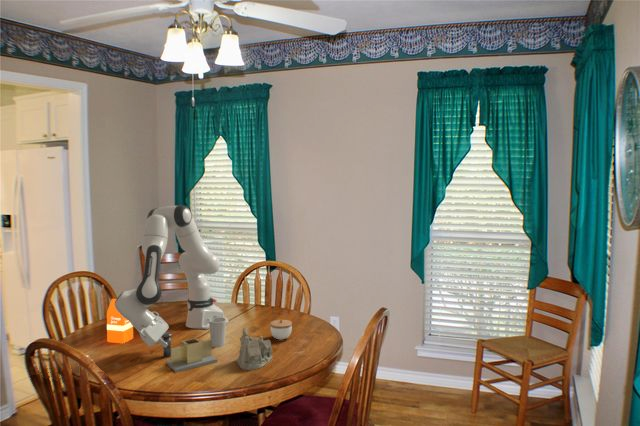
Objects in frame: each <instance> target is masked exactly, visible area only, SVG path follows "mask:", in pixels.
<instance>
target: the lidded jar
mask: <svg viewBox="0 0 640 426" xmlns="http://www.w3.org/2000/svg"><path fill="white" fill-rule="evenodd" d="M269 325H270V333H271V335H272V337H273V338H274V339H275V338H276V339H285V338H287V339H288V338H289V337H290V336H291V334H292V331H293V329H292V328H293V322H292V321H291V320H287V319H276V320H272V321H271V322H270V324H269ZM276 339H275V340H276Z"/></svg>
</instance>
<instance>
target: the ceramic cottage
mask: <svg viewBox="0 0 640 426" xmlns="http://www.w3.org/2000/svg"><path fill="white" fill-rule="evenodd" d="M241 333H242V335H241V336H240V337H239V341H240V348H239V352H238V353H239V355H238V357H237V359H236V363H237V364H238V366H239V367H240V368H241V370H243V371H255V369H256V370H258V368H259V369H262V368H264V367H265V366H266V365H267V364H266V363H267V362H269V361H270V360H271V359H272V358H273V355H272V353H273V351H272V350H273V349H272V342H271V340H270V339H267V340H264V336H263V335H259V337H257V336H255V337H252V336H250V335H249V334H248V333H247V331H246V327H242V332H241ZM272 360H273V359H272ZM272 360H271V361H272ZM271 361H270V362H271ZM270 362H269V363H270ZM265 364H266V365H265ZM264 365H265V366H264ZM263 366H264V367H263ZM261 367H262V368H261Z"/></svg>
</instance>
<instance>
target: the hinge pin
mask: <svg viewBox="0 0 640 426" xmlns="http://www.w3.org/2000/svg"><path fill="white" fill-rule="evenodd" d="M172 336H173V334H172V332H165V333H164V334H163V335H162V337H163V338H162V337H161V338H162V340H163V341H165V342H167V343H168V346H167V347H166V348H165V347H163V346H162V347H163V358H165V359H167V358H171V348H172V347H171V345H172V344H171V343H172V339H171V337H172Z"/></svg>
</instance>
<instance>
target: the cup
mask: <svg viewBox="0 0 640 426" xmlns="http://www.w3.org/2000/svg"><path fill="white" fill-rule="evenodd" d="M226 318H227V317H226ZM226 318H222V317H216V318H211V319H210V320H209V326H210V328H209V335H210V336H209V337H210V340H212V348H221V347H224V346H225V345H226V344H225V343H226V342H225V340H226V327H227V323H226Z"/></svg>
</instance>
